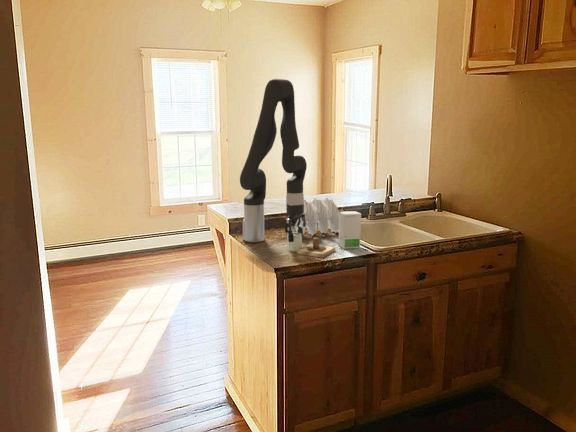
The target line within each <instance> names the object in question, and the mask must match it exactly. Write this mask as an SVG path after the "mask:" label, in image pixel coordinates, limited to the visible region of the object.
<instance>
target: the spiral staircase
mask: <svg viewBox="0 0 576 432" xmlns="http://www.w3.org/2000/svg"><path fill="white" fill-rule="evenodd" d="M333 200H334V199H329V198H328V197H326V198H325V199H324V200H323V199H322V200H321V199H317V198H315V197H314V199H313V200H312V201H307V200H306V199H304V213H303V214H305V227H304V229H303V235H304V234H305V233H306V230H307V234H308V235H311V237H313V236H314V235H315V234H317V231H318V230H319V231H320V234H323V233H324V234H327V232H328V230H329V229H330V232H331V233H333V232H334V234H336V233H337V232H339V212H340V211H339V208H338V206H337V204H336V203H335V201H333ZM285 210H286V211H287V209H285ZM317 229H318V230H317ZM294 231H296V232H298V228H297V227H296V229H294Z"/></svg>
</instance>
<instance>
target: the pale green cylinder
mask: <svg viewBox="0 0 576 432" xmlns="http://www.w3.org/2000/svg"><path fill="white" fill-rule="evenodd" d="M293 234H294V241H293V242H289V241H288V235H287V236H286V250H287V251H288V252H294V253H295V252H297V250H299V249H301V248H303V237H302V236H301V235H302V234H301V233H298V232H297V231H296V232H295V231H294V232H293Z"/></svg>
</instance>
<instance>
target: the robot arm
mask: <svg viewBox="0 0 576 432" xmlns="http://www.w3.org/2000/svg"><path fill="white" fill-rule="evenodd" d="M294 89H295V88H294V85H293V83H292V81H290V80H288V79H282V78H271V79H270V80H268V82H267V83H266V86H265V88H264V93H263V99H262V104H261V110H260V112H259V118H258V121H257V125H256V128H255V131H254V134H253V138H252V141H251V145H250V149H249V152H248V155H247V158H246V160H245V163H244V166H243V167H242V169H241V172H240V175H239V183H240V187H241V188H242V189H243V190H244V191H249V192H248V194H247V195H246V196H245V197H244V199H243V215H244V217H243V220H242V240H243V241H245V242H249V243H260V242H263V241H264V240H265V199H266V196H267V177H266V174H265V171H264V170H263V169H262V168H259V167H260V165H261V163H263V162H262V161H263V160H264V159H265V158H266V156H267V155H268V154H269V153H270V151H271V150H272V149H273V146H274V144H275V140H276V137H277V133H278V132H277V129H278V128H277V123H276V118H275V114H276V111H277V110H276V109H277V106H278V105H279V103H281V108H282V119H281V123H280V132H279V134H280V140H281V144H282V146H281V147H282V152H281V154H282V155H281V157H282V158H281V166H282V169H283V170H284V172H285V173H287V174H292V177H289V178H288V179H287V181H286V197H285V198H286V200H285V201H286V202H285V203H286V204H285V206H286V209H287V210H286V209H285V210H286V215H289V218H285V219H284V223H285V224H284V233H286V234H287V236H288V241H289V242H293V241H294V234H293V232H295V229H296V227H297V228H298V233H301V234H302V235H301V236H302V238H304V234H303V229H304V227H305V225H306V222H305V214H303V213H304V200H305V199H304V198H305V197H304V181H305V178H306V177H305V176H306V171H307V167H308V166H307V164H308V163H307V160H306V159H305V157H304V156H302V155H295V151H296V150H299V148H300V141H299V136H298V131H297V125H296V105H295V90H294Z"/></svg>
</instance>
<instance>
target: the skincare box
mask: <svg viewBox="0 0 576 432" xmlns="http://www.w3.org/2000/svg"><path fill="white" fill-rule="evenodd" d="M361 226H362V213H361V212H358V211H350V210H349V211H339V229H338V240H337V241H338V243H337V245H338V247H340V248H341V249H344V250H346V249H360V248H361V231H362V230H361V229H362V227H361Z"/></svg>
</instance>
